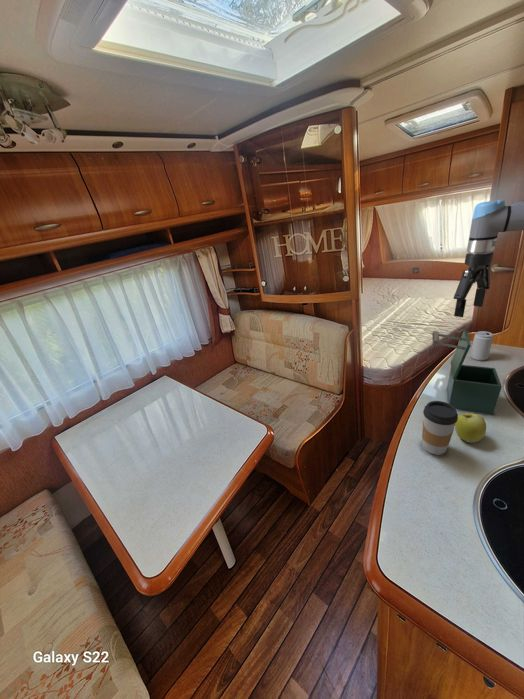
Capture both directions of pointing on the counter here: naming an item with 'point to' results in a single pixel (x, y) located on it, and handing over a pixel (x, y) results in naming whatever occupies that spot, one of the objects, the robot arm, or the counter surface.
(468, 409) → the waste bin
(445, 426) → the coffee cup
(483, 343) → the beverage can
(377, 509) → the counter surface
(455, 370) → the bin lid
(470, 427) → the apple
